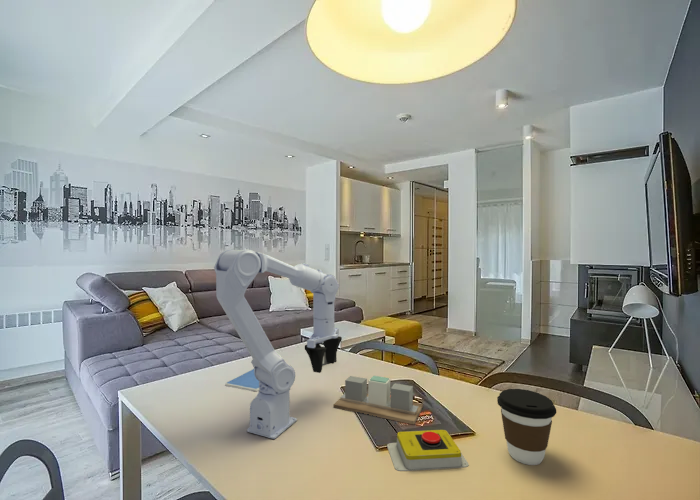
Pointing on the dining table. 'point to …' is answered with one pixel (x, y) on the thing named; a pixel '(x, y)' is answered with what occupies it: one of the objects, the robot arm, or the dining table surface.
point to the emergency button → (425, 451)
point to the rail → (365, 402)
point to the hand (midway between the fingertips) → (324, 367)
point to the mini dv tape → (325, 360)
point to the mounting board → (380, 411)
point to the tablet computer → (245, 382)
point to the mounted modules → (399, 393)
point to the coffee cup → (526, 424)
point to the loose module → (379, 390)
